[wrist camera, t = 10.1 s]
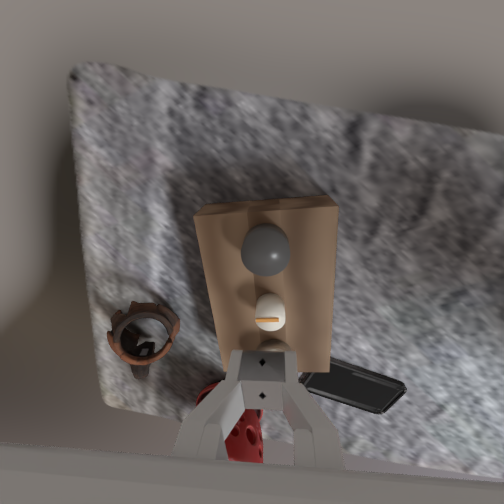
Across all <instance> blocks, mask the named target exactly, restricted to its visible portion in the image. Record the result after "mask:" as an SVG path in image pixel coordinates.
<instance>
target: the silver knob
mask: <svg viewBox="0 0 504 504" xmlns="http://www.w3.org/2000/svg"><path fill="white" fill-rule="evenodd" d="M256 351H284V352H285V351H292V350H291V348H290V346H289V345H288V344H287V343H285V342H283V341H281V340H276V339H271V340H266V341H264V342H262V343H260V344H259V345H258V347H257V349H256Z"/></svg>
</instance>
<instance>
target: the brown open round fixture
mask: <svg viewBox="0 0 504 504" xmlns="http://www.w3.org/2000/svg"><path fill="white" fill-rule="evenodd" d="M140 318H153V319H156V320H158V321H160V322H161V323H162V324H163V325H164V326H165V328H166V330H167V333H168V335H169V338H168V340H167V341H166V343H165V345H164V346H163V347H162V349H160V350H159V351H158V352H157V353H154V349H155V342H147V341H146V342H144V343H142V344H140V345H139V346H137V343H138V339H139V337H140V335H139V334H135V333H132V332H130V331H129V330H127V329H126V328H125V327H126V326H127V325H128V324H129V323H130V322H131V321H134V320H136V319H140ZM111 323H112V331H108V332H107V339H108V342H109V345H110V347H111V348H112V350H113V351H114V352H115V353H116V354H117V355H118V356H120V358H121V359H122V360H124V361H125V362H127V363H129V364H130V365H131V369H132V373H133V375H134V377H135V378H136V379H140V378H144V377H146V376H147V375H148V374H149V366H150V363H153V362H155V361H157V360H159V359H160V358H162V357H163V356H164V355H165V354H166V353H167V352H168V351H169V350H170V348H171V346H172V343H173V341H174V339H175V336H176V334H177V333H178V332H179V329H180V319H178V317H177V316H176V315H175V314H174V313H173V312H172V311H171V310H170V309H168V308H167V307H165V306H163V305H161V304H158V305H157V306H156V304H155V303H137V302H135V301H132V302H131V305H130V308H129V312H128V314H127V315H125V314H121V310H118V311H117V312H116V313H115V314H114V315H113V317H112V318H111Z"/></svg>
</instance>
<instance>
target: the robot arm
mask: <svg viewBox="0 0 504 504" xmlns="http://www.w3.org/2000/svg"><path fill="white" fill-rule="evenodd" d="M245 409H266V410H279V411H283V413H284V414H285V416H286V418H287V420H288V422H289V424H290V426H291V428H292V429H293V431H294V466H290V465H277V464H265V463H252V462H240V461H229V459H228V455H227V451H226V446H225V442H224V441H225V439H226V438H227V436H228V435H229V433H230V432H231V430H232V429H233V427H234V426H235V424H236V423H237V421H238V420H239V418H240V417H241V415H242V414H243V412H244V411H245ZM0 504H504V482H491V481H479V480H466V479H453V478H441V477H428V476H415V475H403V474H390V473H378V472H365V471H353V470H346V469H345V464H344V459H343V454H342V449H341V444H340V439H339V434H338V430H337V429H336V427H335V426H334V425H333V423H332V422H331V421H330V420H329V418H328V417H327V416H326V414H325V413H324V412H323V410H322V409H321V408H320V406H319V405H318V404H317V402H316V401H315V400H314V399H313V397H312V396H311V395H310V393H309V392H308V391H307V389H306V388H305V387H304V385H303V384H302V383H298V371H297V358H296V351H285V352H284V351H253V350H232V352H231V356H230V360H229V365H228V369H227V373H226V378H225V380H222V381H221V382H220V383H219V384H218V385H217V386H216V387H215V388H214V389H213V390H212V391H211V392H210V393H209V394H208V395H207V396H206V397H205V398H204V399H203V400H202V401H201V402H200V404H199V405H198V406H197V407H196V408H195V409H194V410H193V411H192V412H191V413H190V414H189V415H188V416H187V417H186V418H185V419H184V420H183V422H182V425H181V428H180V431H179V434H178V437H177V440H176V442H175V445H174V448H173V451H172V454H171V456H164V455H151V454H138V453H126V452H113V451H101V450H88V449H76V448H63V447H51V446H39V445H26V444H14V443H1V442H0Z"/></svg>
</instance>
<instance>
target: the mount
mask: <svg viewBox="0 0 504 504" xmlns="http://www.w3.org/2000/svg"><path fill="white" fill-rule="evenodd" d="M338 212H339V206H338V205H337V204H336V203H335V202H334V201H333V200H332V199H331V198H330V197H329V196H328V195H321V196H308V197H294V198H281V199H267V200H254V201H240V202H227V203H213V204H205V205H204V206H203V207H202V208H201V209H200V210H199V211H198V212H197V213H196V214H195V215H194V216H193V218H194V223H195V228H196V233H197V238H198V243H199V248H200V253H201V258H202V263H203V268H204V273H205V278H206V283H207V288H208V293H209V298H210V303H211V308H212V313H213V318H214V324H215V329H216V334H217V339H218V344H219V349H220V354H221V359H222V364H223V369H224V372H227V369H228V365H229V360H230V356H231V352H232V350H253V351H256V349H257V347H258V345H259V344H260V343H262V342H264V341H266V340H271V339H276V340H281V341H283V342H285V343H287V344H288V345H289V346H290V348H291V350H292V351H296V358H297V371H298V372H329V369H330V351H331V334H332V317H333V299H334V282H335V265H336V247H337V230H338ZM263 223H269V224H274V225H276V226H278V227H280V228H281V229H282V230H283V231H284V232H285V233H286V235H287V237H288V241H289V247H290V260H289V263H288V265H287V266H286V268H285V269H284V270H283V271H281V272H280V273H278V274H276V275H273V276H259V275H256V274H254V273H252V272H250V271H249V270H248V269H247V268H246V267H245V266H244V264H243V262H242V259H241V248H242V245H243V241H244V238H245V236H246V234H247V232H248V231H249V230H250V229H251V228H252V227H254V226H256V225H258V224H263ZM267 293H274V294H277V295H279V296H280V297H281V298H282V299H283V301H284V304H285V324H284V325H283V327H282V328H280V329H278V330H276V331H266V330H263V329H261V328H260V327H259V326H258V325H257V324H256V322H255V314H256V304H257V300H258V298H259V297H260V296H262V295H264V294H267Z"/></svg>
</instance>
